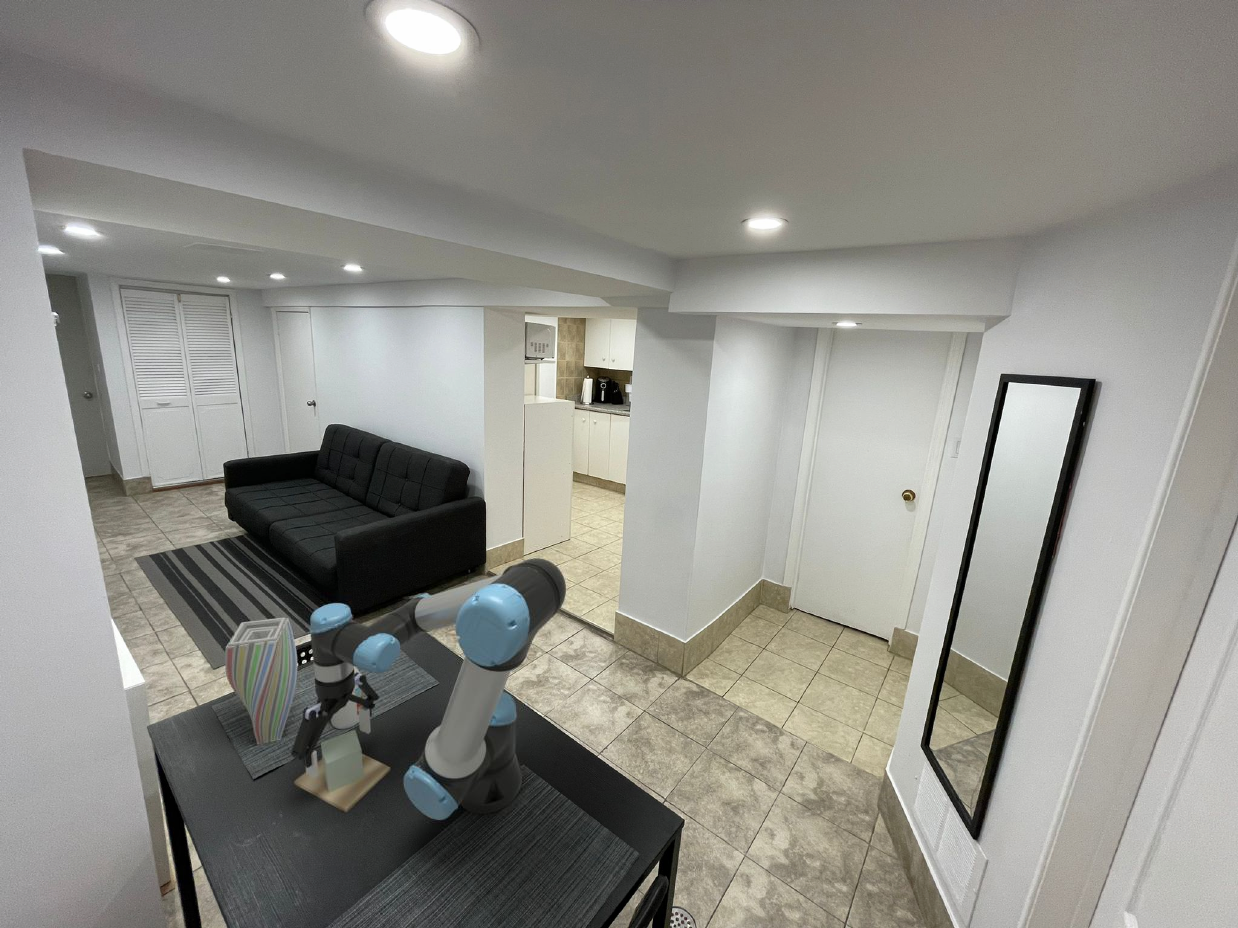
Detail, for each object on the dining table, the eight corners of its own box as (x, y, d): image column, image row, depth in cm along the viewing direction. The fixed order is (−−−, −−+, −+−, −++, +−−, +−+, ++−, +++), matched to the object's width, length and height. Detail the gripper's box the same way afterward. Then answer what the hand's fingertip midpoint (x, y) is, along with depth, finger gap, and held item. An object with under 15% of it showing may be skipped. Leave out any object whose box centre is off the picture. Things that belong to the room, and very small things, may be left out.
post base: (390, 769, 118) (389, 748, 116) (346, 812, 107) (344, 789, 105) (341, 745, 123) (339, 724, 121) (294, 784, 112) (291, 761, 111)
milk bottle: (350, 732, 127) (345, 665, 122) (324, 726, 128) (317, 659, 123) (370, 711, 134) (366, 647, 129) (345, 705, 136) (340, 641, 131)
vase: (297, 748, 121) (285, 642, 114) (229, 762, 116) (212, 652, 109) (308, 709, 133) (297, 611, 126) (247, 720, 128) (233, 618, 121)
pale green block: (357, 756, 119) (354, 729, 117) (363, 777, 114) (361, 749, 112) (323, 770, 115) (320, 742, 113) (328, 792, 110) (326, 763, 108)
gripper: (369, 637, 120) (372, 709, 126) (264, 703, 98) (274, 788, 103) (393, 646, 118) (395, 720, 123) (290, 716, 95) (299, 803, 101)
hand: (340, 751), depth 113 cm, fingers open, 13 cm apart
